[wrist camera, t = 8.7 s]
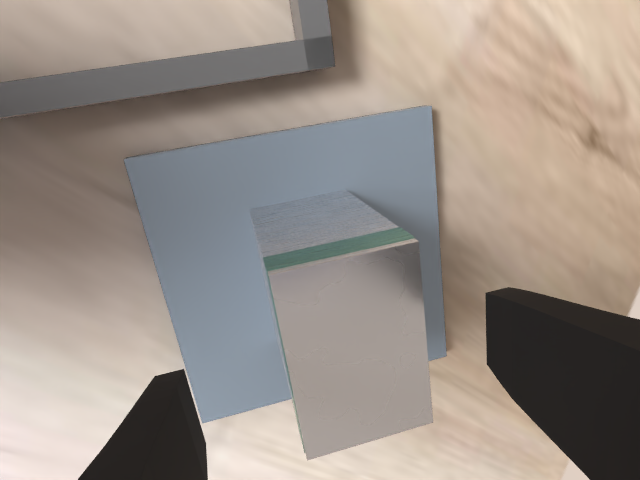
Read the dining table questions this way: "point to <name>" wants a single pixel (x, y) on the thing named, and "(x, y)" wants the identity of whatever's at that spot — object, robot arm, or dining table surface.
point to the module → (345, 319)
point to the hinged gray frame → (179, 70)
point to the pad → (240, 245)
